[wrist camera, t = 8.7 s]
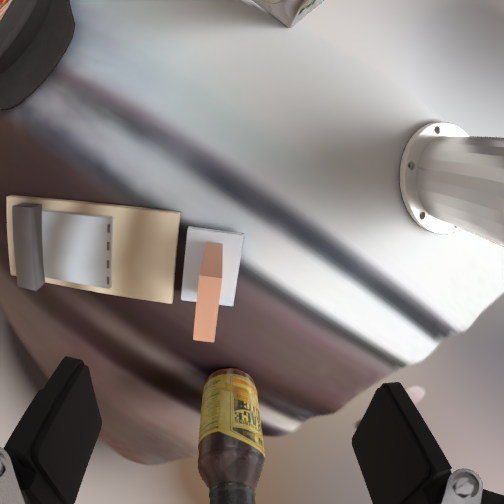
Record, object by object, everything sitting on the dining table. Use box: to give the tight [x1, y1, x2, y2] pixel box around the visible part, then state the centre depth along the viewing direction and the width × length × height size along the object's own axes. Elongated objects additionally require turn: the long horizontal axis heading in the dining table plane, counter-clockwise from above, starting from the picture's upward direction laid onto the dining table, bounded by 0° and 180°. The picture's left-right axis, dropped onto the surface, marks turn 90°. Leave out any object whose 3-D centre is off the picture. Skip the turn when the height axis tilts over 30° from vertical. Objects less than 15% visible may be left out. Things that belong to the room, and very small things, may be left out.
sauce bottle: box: [198, 368, 265, 504], centre depth 25 cm, size 7×6×20 cm
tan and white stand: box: [181, 226, 244, 342], centre depth 25 cm, size 5×7×9 cm
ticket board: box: [7, 195, 181, 304], centre depth 27 cm, size 20×9×4 cm, turn 81°
